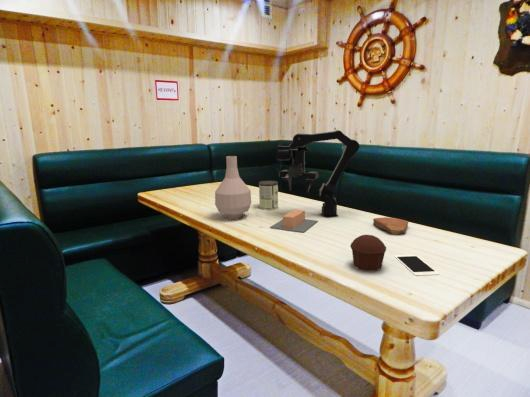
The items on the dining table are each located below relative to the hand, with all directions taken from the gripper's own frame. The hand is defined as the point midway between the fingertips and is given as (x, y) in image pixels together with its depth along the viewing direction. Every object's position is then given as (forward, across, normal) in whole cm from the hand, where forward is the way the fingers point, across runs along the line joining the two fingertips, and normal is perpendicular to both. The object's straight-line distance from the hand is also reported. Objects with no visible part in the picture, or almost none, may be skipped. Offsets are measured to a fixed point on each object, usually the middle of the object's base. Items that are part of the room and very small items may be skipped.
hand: (298, 191), depth 175 cm
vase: (+12, -28, -16) cm, 35 cm away
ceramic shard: (+13, +44, -5) cm, 46 cm away
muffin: (+12, +44, -47) cm, 65 cm away
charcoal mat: (+12, +5, -16) cm, 20 cm away
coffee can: (+12, -21, +7) cm, 25 cm away
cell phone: (+13, +58, -39) cm, 71 cm away
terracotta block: (+9, +5, -9) cm, 14 cm away
